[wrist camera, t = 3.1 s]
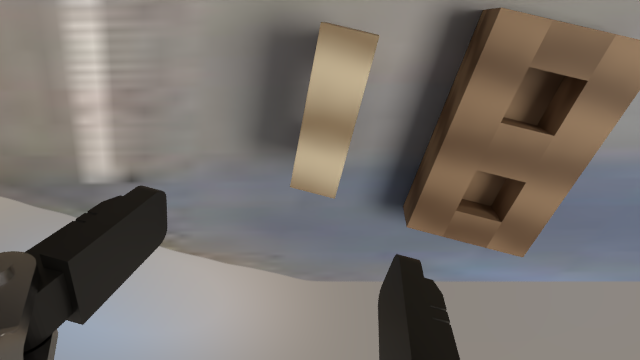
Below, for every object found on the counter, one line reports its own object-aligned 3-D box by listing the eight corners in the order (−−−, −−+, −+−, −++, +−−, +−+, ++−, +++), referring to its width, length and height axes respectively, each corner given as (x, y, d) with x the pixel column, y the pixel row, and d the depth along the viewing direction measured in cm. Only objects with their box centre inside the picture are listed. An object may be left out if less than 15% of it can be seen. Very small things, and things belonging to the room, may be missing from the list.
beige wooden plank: (333, 22, 28) (321, 22, 20) (377, 33, 27) (379, 36, 20) (307, 152, 34) (290, 187, 27) (342, 161, 33) (334, 198, 26)
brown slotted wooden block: (483, 9, 25) (501, 7, 22) (627, 43, 25) (669, 46, 22) (403, 206, 35) (406, 227, 31) (507, 233, 34) (522, 257, 31)
